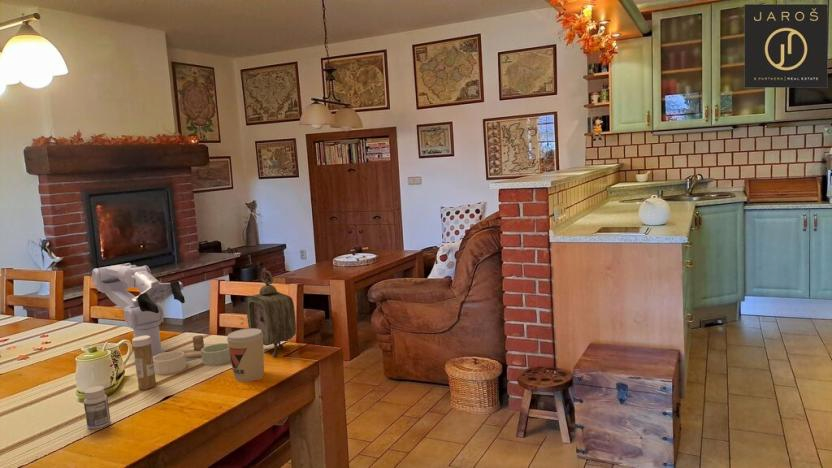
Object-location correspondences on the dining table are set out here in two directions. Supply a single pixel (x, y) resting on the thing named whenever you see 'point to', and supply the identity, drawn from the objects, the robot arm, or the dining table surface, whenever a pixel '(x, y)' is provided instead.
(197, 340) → the lid
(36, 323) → the dining table surface
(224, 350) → the sage bowl
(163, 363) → the cream bowl
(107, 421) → the pill bottle
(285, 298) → the tabletop clock
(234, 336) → the coffee cup
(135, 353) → the sprinkles bottle
